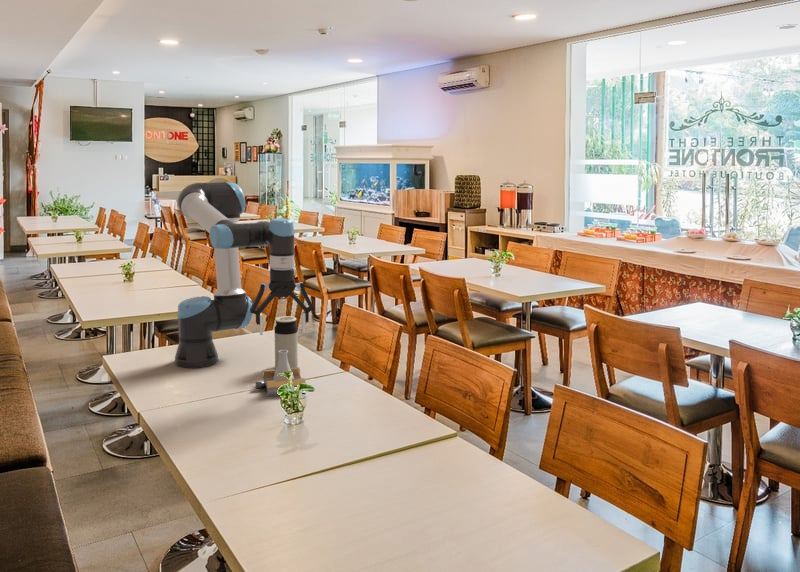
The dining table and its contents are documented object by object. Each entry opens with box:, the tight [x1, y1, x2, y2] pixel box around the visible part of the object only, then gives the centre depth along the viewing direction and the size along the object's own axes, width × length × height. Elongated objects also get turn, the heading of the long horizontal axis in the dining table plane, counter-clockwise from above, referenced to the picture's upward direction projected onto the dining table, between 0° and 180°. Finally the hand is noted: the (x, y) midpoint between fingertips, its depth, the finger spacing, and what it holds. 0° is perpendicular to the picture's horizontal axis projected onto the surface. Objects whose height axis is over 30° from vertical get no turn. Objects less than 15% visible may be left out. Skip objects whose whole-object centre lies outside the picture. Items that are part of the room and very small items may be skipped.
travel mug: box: [274, 315, 299, 369], centre depth 245 cm, size 8×8×18 cm
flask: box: [273, 350, 294, 381], centre depth 224 cm, size 7×7×10 cm
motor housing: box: [255, 367, 306, 398], centre depth 224 cm, size 14×15×4 cm
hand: (282, 333), depth 222 cm, fingers open, 13 cm apart
